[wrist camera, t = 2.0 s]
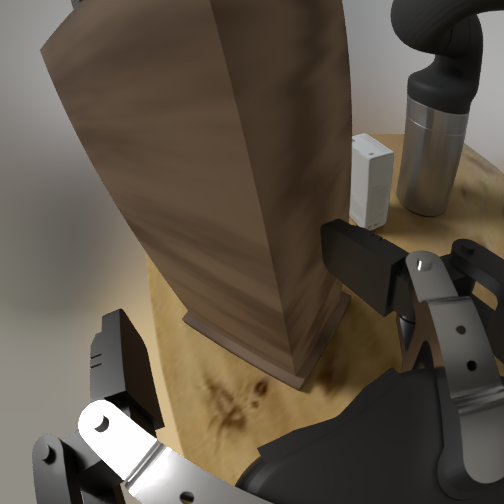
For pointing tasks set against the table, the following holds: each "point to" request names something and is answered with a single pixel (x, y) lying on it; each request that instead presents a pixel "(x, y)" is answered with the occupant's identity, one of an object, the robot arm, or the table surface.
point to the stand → (222, 156)
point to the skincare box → (370, 181)
